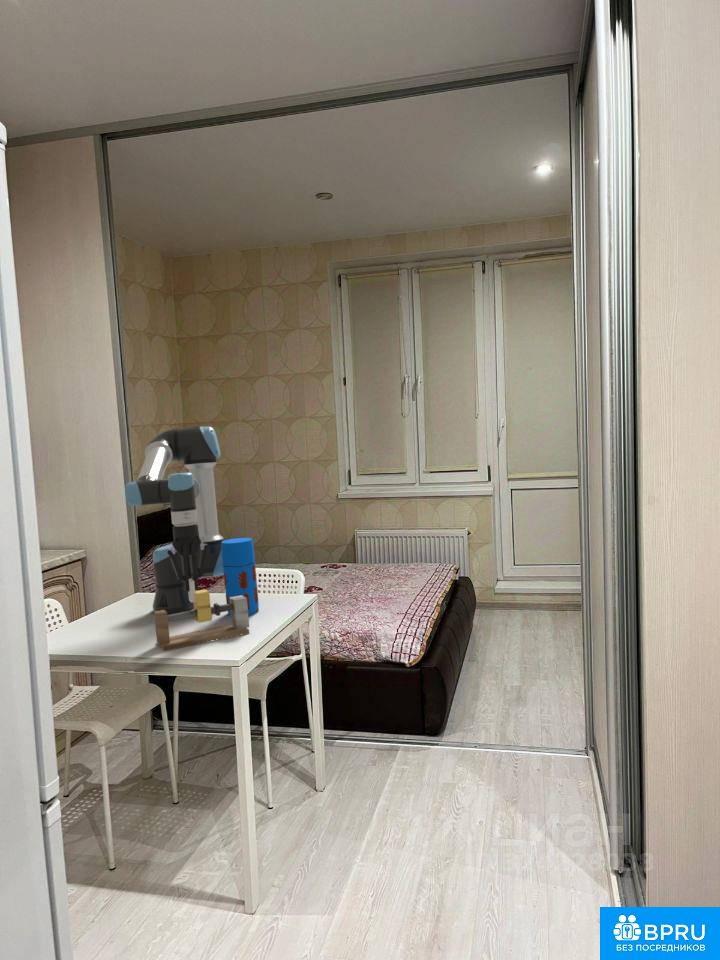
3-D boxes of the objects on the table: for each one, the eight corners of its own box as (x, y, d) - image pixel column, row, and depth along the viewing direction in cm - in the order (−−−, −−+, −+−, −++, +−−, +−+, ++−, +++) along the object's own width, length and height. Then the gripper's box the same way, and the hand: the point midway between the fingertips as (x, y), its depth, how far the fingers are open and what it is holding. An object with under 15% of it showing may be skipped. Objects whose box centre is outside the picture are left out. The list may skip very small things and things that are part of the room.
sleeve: (195, 620, 230) (192, 591, 230) (207, 617, 232) (205, 589, 231) (198, 622, 226) (196, 593, 226) (211, 620, 228) (209, 591, 228)
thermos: (264, 608, 262) (257, 537, 260) (251, 616, 251) (244, 542, 249) (235, 608, 265) (229, 538, 263) (222, 616, 254) (215, 543, 252)
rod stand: (155, 643, 228) (151, 609, 227) (242, 626, 240) (239, 594, 239) (162, 651, 219) (158, 616, 218) (252, 632, 231) (249, 599, 230)
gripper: (166, 528, 220) (173, 607, 221) (209, 522, 225) (217, 599, 227) (160, 526, 226) (168, 602, 228) (203, 520, 232) (210, 595, 234)
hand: (192, 601), depth 228 cm, fingers closed
